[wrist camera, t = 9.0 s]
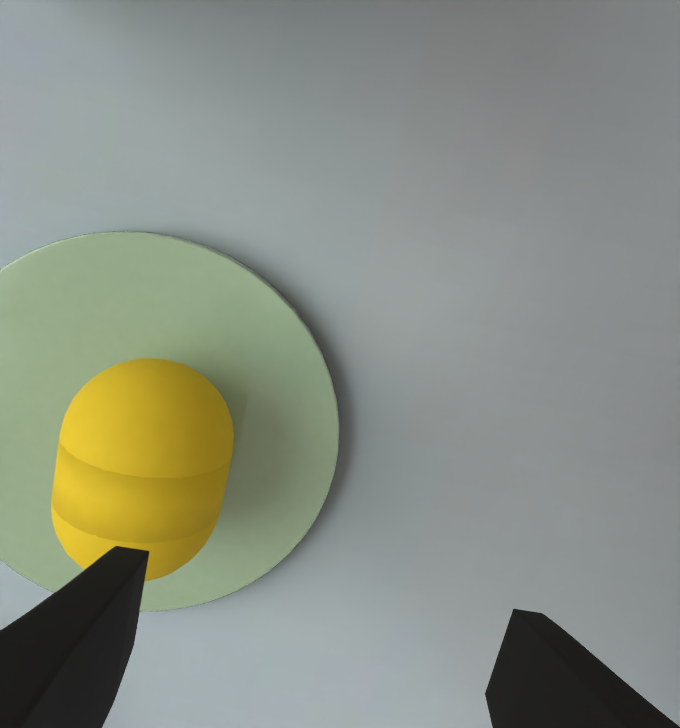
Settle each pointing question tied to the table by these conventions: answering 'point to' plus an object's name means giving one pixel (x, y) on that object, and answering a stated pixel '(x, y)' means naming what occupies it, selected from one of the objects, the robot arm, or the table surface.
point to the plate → (179, 344)
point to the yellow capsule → (142, 464)
